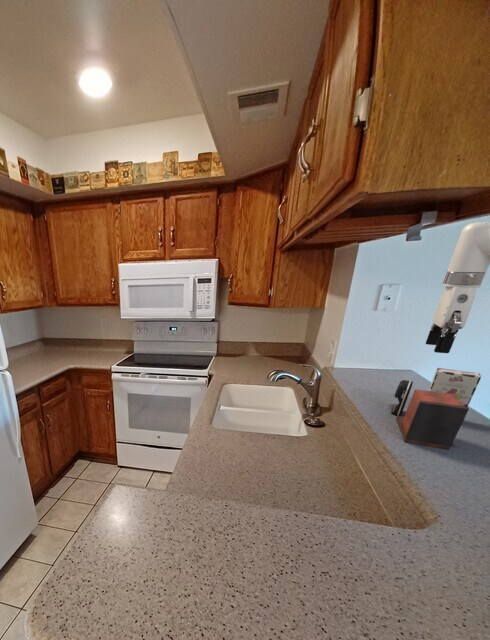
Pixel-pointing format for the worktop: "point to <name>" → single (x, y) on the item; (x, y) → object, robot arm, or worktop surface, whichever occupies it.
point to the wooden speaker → (432, 419)
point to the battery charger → (402, 396)
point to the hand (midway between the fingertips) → (436, 348)
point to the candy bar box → (456, 383)
